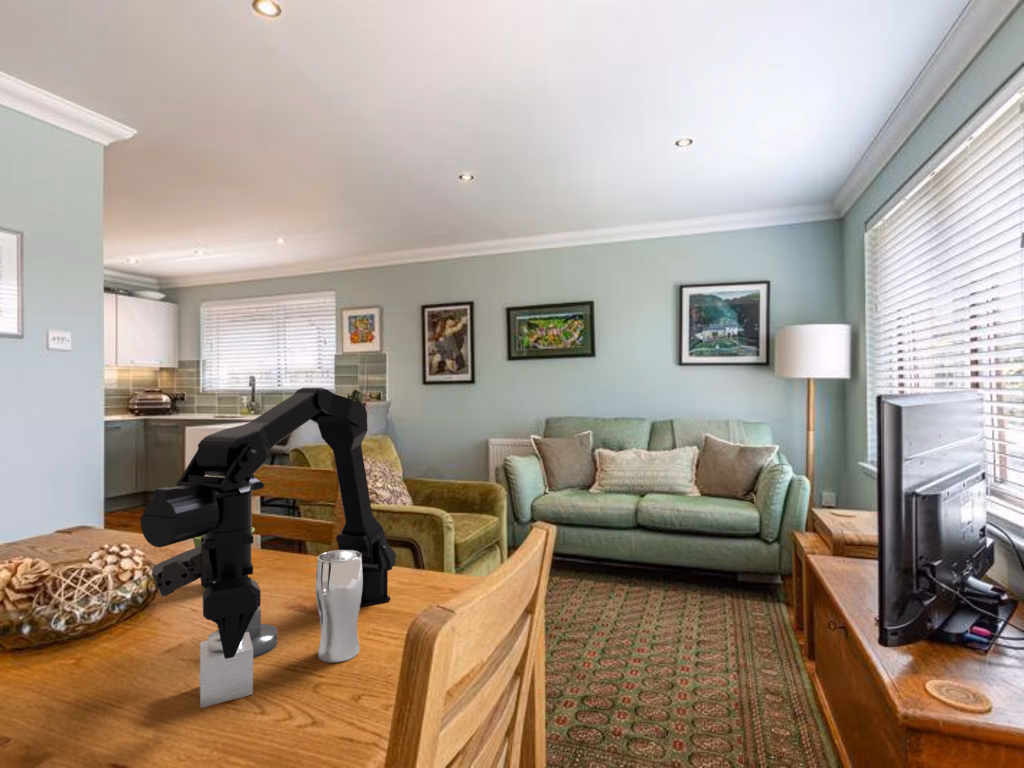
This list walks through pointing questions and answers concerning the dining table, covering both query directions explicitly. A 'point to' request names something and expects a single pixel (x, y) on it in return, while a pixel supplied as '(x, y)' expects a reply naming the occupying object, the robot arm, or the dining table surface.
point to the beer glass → (339, 603)
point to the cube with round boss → (225, 671)
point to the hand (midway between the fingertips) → (227, 643)
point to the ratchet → (261, 635)
